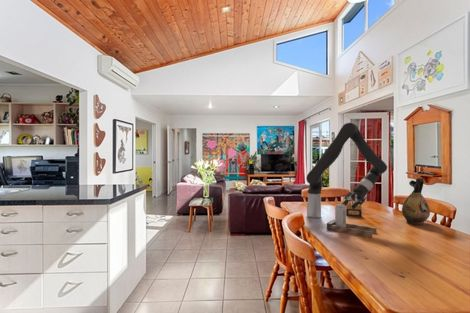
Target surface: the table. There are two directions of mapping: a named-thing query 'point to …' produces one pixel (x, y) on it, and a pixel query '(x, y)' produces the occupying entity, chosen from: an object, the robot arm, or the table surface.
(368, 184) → the robot arm
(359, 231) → the channel
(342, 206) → the energy drink can
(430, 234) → the table surface
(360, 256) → the table surface
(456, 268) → the table surface
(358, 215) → the ammunition clip
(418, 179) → the ceramic jug
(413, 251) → the table surface
